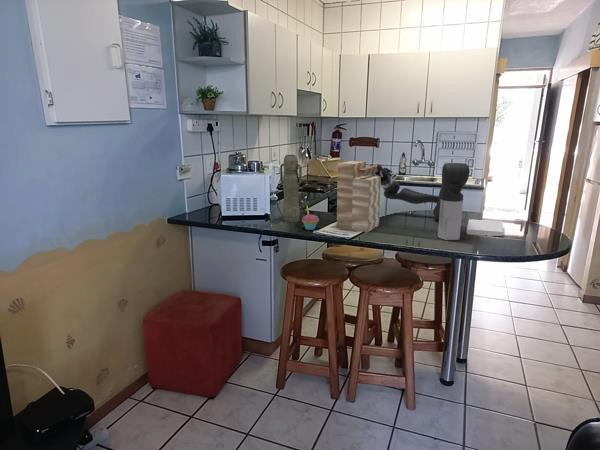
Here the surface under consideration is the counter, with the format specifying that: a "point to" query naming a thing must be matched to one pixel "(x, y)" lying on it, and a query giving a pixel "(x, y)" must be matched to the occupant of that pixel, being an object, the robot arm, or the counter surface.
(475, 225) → the food packaging
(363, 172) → the walnut bar
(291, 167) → the thermos
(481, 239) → the counter surface
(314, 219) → the cupcake
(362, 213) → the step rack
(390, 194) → the robot arm
